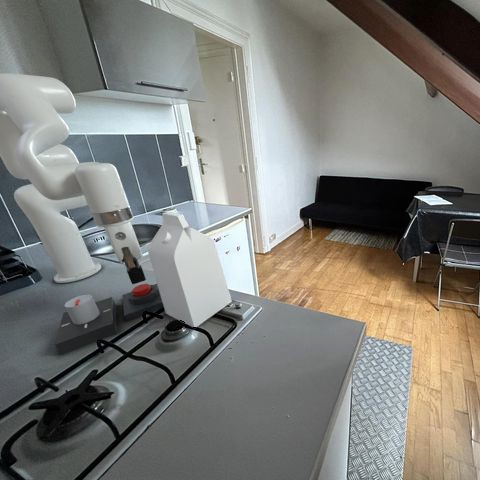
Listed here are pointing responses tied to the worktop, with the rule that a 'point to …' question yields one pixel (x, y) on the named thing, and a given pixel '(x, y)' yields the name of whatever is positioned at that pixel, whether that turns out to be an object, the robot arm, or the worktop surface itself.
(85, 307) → the knob
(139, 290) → the power button
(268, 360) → the worktop surface
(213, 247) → the milk
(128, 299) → the power block
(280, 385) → the worktop surface
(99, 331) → the panel
